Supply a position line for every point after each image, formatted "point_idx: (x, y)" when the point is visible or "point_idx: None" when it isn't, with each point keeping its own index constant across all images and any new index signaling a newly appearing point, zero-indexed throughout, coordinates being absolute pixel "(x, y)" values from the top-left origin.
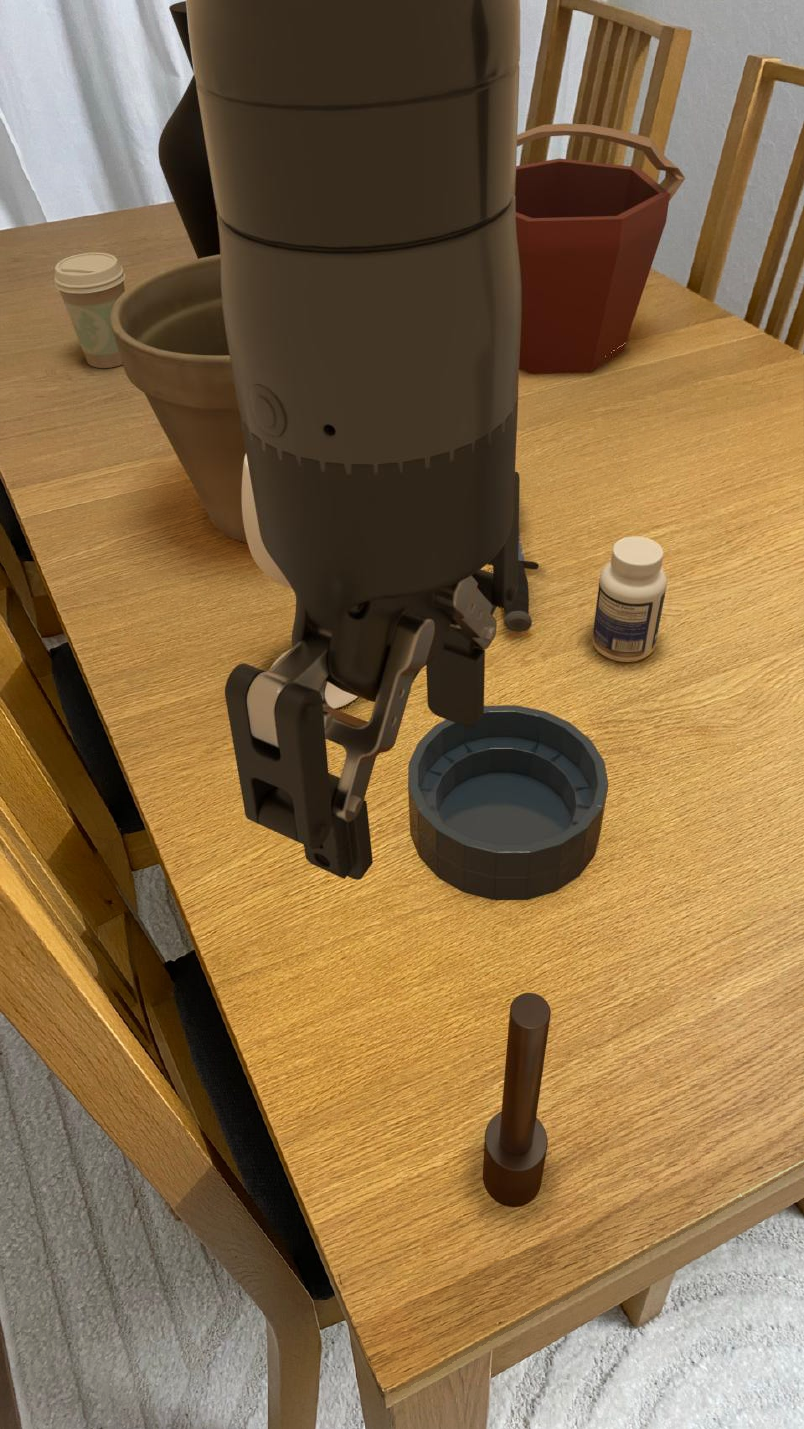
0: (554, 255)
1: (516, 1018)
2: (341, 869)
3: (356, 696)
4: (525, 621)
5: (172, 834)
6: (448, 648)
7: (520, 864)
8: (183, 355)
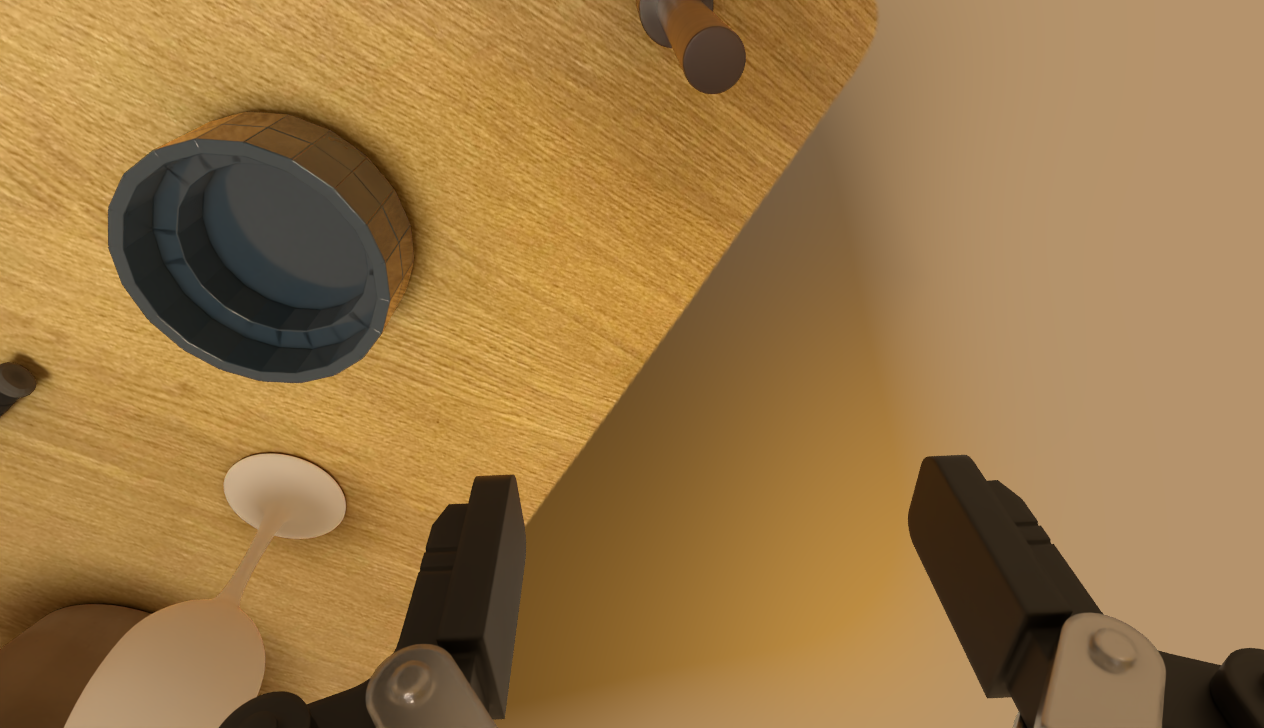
0: None
1: (736, 73)
2: (1021, 506)
3: (277, 455)
4: (4, 373)
5: (543, 484)
6: (488, 688)
7: (351, 189)
8: None
